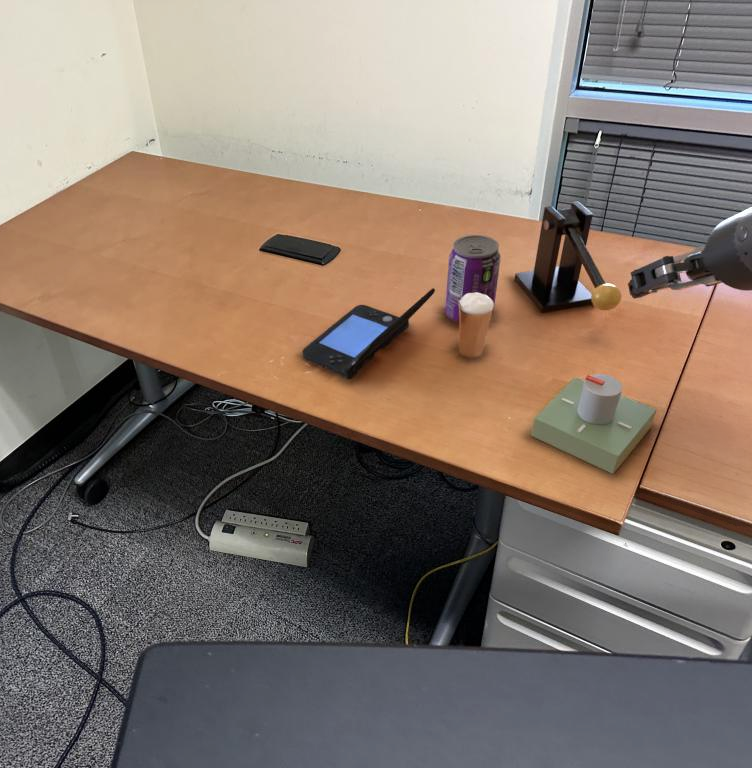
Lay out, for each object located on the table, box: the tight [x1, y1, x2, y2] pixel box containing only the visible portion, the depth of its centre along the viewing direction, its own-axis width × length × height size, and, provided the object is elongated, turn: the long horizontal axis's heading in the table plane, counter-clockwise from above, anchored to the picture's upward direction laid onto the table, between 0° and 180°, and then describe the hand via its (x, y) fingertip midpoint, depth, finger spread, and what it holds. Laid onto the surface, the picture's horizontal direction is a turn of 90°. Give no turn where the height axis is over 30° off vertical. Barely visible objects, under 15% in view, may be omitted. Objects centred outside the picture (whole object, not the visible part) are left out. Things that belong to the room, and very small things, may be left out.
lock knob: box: [577, 373, 624, 425], centre depth 80 cm, size 4×4×5 cm
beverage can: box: [444, 234, 502, 323], centre depth 101 cm, size 7×7×12 cm
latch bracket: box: [514, 201, 594, 314], centre depth 103 cm, size 10×8×14 cm
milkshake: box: [457, 293, 495, 359], centre depth 95 cm, size 4×5×10 cm
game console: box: [301, 287, 436, 380], centre depth 99 cm, size 16×14×9 cm
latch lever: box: [556, 207, 622, 311], centre depth 96 cm, size 17×4×4 cm, turn 6°
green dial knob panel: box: [530, 376, 658, 475], centre depth 83 cm, size 10×10×3 cm
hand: (669, 283), depth 79 cm, fingers open, 8 cm apart
